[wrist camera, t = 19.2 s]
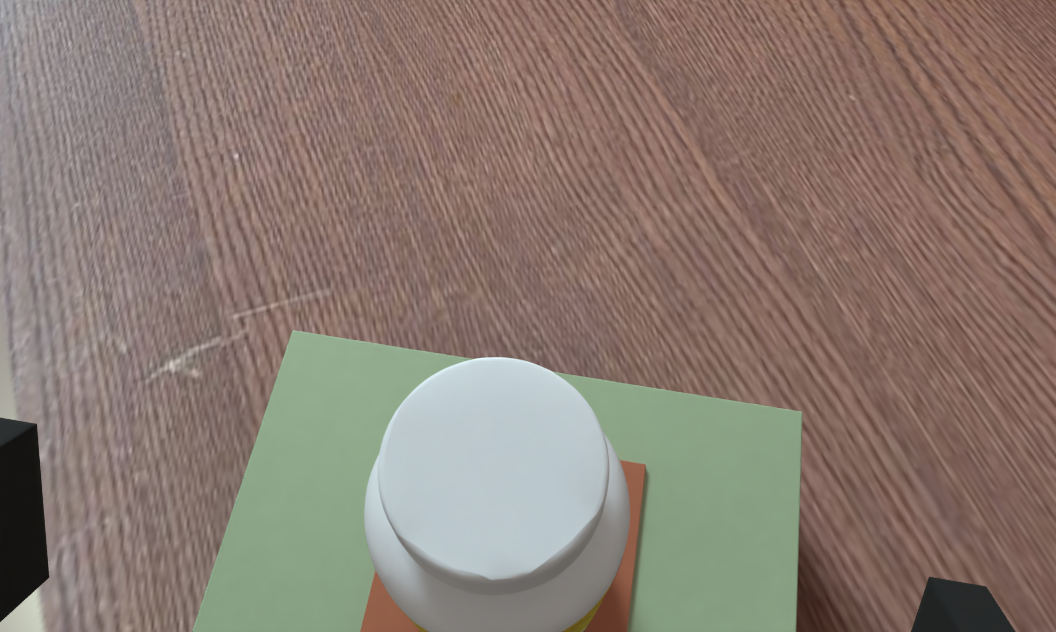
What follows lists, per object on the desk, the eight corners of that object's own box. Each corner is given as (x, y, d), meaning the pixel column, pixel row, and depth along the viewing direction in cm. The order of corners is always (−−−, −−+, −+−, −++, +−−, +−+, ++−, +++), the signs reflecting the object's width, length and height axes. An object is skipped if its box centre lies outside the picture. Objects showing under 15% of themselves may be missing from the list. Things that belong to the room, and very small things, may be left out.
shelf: (218, 747, 25) (148, 751, 21) (327, 387, 31) (290, 326, 26) (741, 853, 24) (792, 882, 20) (761, 459, 29) (804, 409, 25)
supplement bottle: (633, 633, 22) (701, 570, 13) (435, 703, 21) (370, 685, 12) (565, 446, 24) (586, 287, 16) (385, 503, 24) (301, 370, 15)
